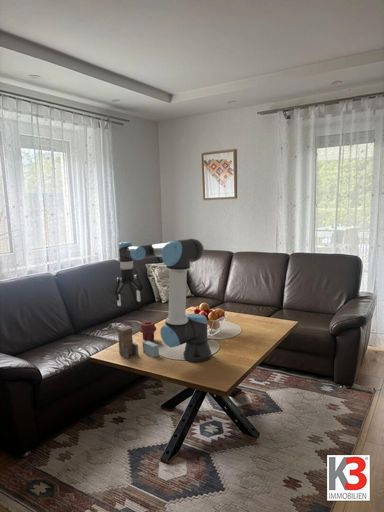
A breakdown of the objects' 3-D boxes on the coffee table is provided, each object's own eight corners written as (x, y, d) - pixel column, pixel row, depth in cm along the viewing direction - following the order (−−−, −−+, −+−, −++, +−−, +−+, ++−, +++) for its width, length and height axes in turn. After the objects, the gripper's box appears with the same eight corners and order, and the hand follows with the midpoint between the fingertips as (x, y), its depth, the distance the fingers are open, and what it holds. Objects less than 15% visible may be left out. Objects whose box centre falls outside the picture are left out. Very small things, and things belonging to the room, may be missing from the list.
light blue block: (159, 355, 202) (158, 344, 202) (153, 357, 200) (153, 346, 199) (148, 350, 210) (147, 340, 209) (143, 352, 208) (142, 342, 207)
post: (118, 354, 206) (116, 329, 204) (129, 350, 211) (127, 325, 209) (126, 358, 199) (125, 332, 197) (138, 355, 204) (136, 329, 202)
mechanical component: (158, 338, 229) (154, 344, 220) (143, 337, 231) (138, 343, 222) (157, 319, 228) (152, 324, 218) (142, 318, 230) (137, 323, 220)
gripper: (140, 265, 228) (143, 298, 230) (104, 270, 211) (107, 306, 214) (147, 266, 222) (150, 300, 225) (111, 271, 206) (113, 308, 208)
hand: (129, 303), depth 219 cm, fingers open, 13 cm apart
